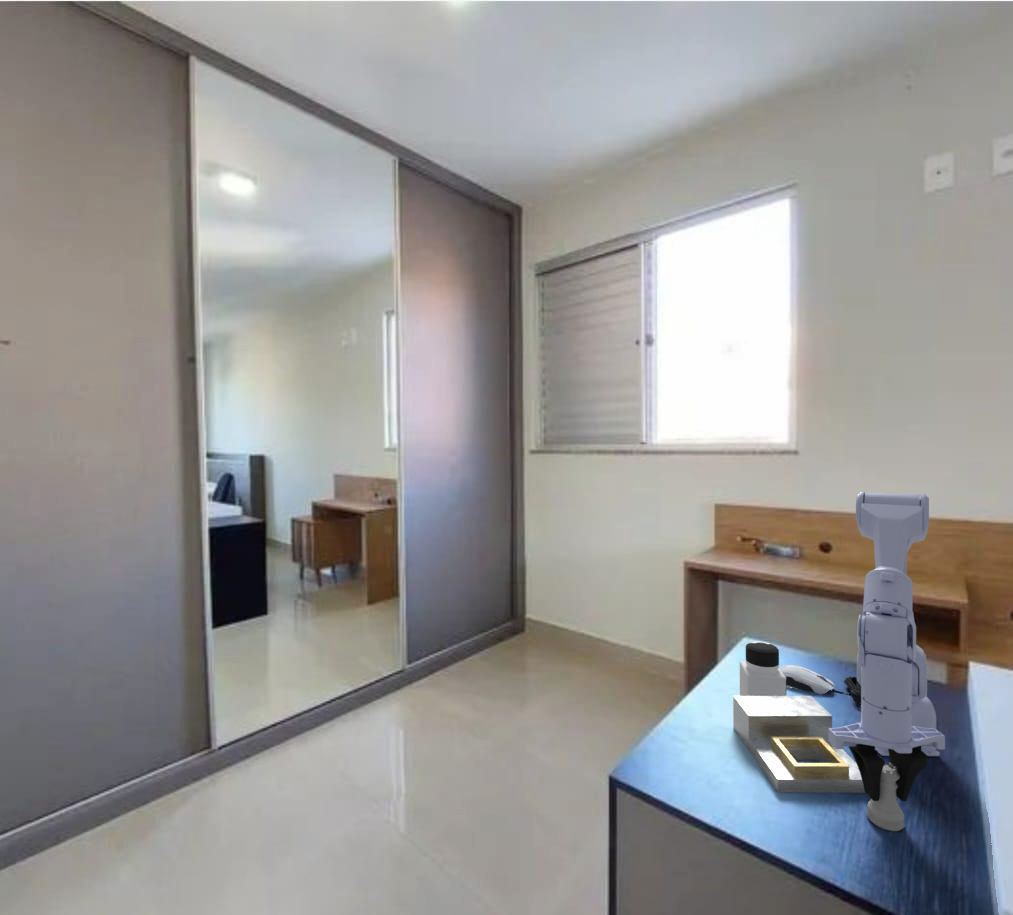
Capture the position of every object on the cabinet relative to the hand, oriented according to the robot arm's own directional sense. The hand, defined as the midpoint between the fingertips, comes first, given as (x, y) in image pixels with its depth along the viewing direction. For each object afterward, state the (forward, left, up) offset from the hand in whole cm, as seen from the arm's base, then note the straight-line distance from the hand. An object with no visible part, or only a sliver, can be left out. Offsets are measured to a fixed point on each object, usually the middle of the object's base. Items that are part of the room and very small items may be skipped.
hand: (885, 796), depth 75 cm
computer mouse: (-11, -40, -4) cm, 41 cm away
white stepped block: (+5, -16, -4) cm, 17 cm away
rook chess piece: (0, 0, -4) cm, 4 cm away
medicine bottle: (+3, -33, -4) cm, 33 cm away
